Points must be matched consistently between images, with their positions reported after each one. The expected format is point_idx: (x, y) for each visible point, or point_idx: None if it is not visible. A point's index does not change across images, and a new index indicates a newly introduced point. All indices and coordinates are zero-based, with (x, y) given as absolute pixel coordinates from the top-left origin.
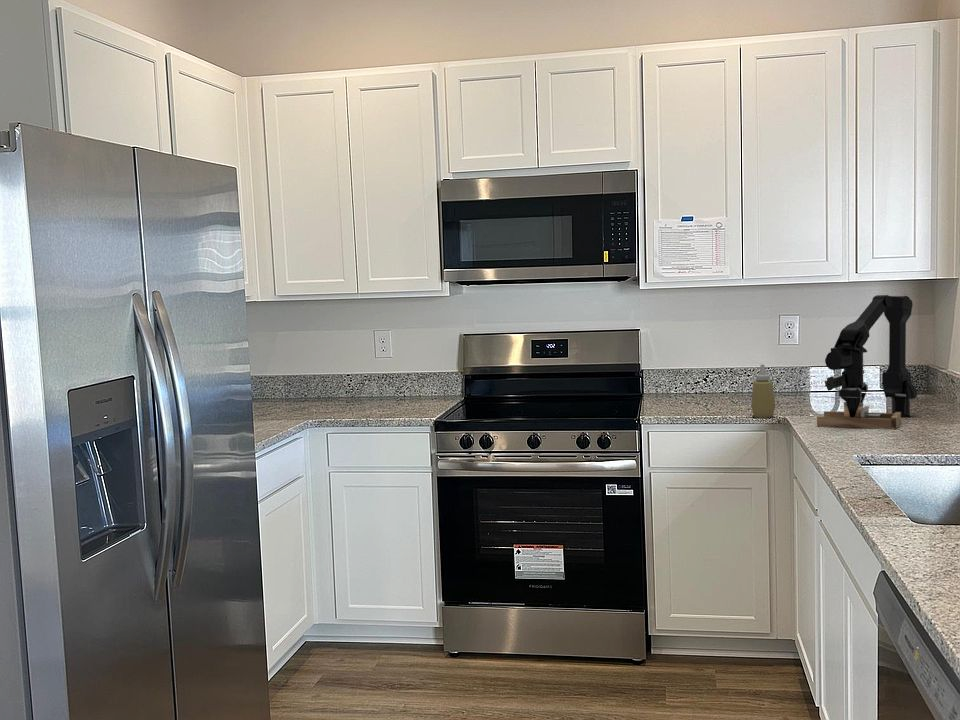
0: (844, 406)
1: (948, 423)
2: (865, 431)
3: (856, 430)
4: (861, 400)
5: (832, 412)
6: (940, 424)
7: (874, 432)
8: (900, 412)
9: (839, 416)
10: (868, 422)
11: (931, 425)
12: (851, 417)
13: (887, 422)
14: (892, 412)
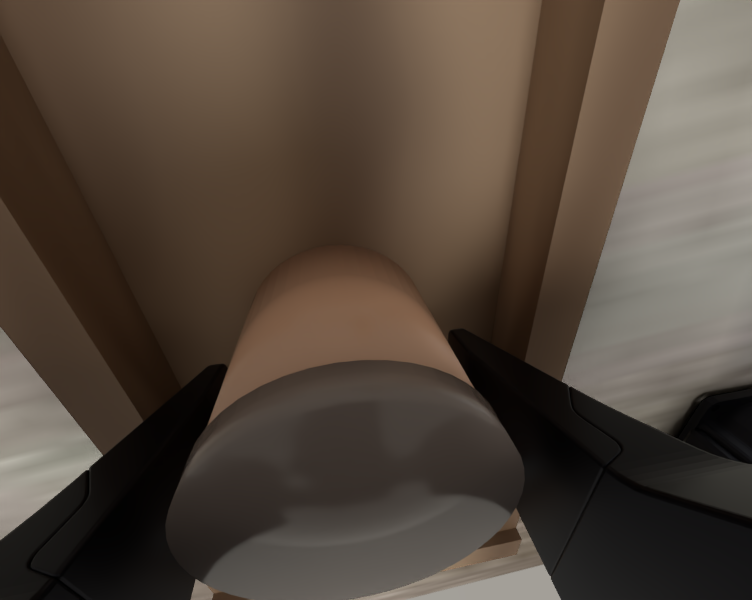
0: (258, 379)
1: (495, 572)
2: (16, 467)
3: (9, 414)
4: (545, 552)
5: (599, 17)
6: (464, 568)
7: (22, 509)
8: (490, 559)
9: (535, 143)
10: None
11: None
12: (125, 406)
13: None
14: (747, 420)
